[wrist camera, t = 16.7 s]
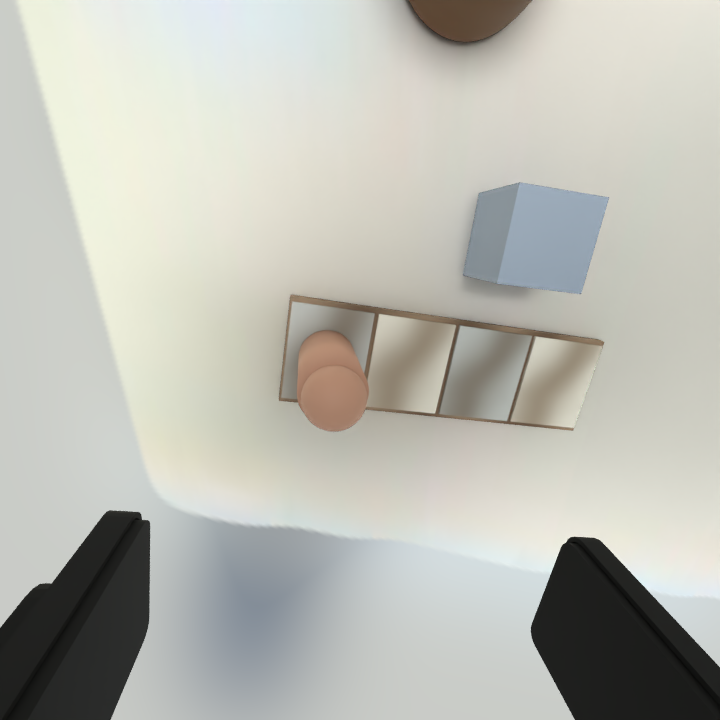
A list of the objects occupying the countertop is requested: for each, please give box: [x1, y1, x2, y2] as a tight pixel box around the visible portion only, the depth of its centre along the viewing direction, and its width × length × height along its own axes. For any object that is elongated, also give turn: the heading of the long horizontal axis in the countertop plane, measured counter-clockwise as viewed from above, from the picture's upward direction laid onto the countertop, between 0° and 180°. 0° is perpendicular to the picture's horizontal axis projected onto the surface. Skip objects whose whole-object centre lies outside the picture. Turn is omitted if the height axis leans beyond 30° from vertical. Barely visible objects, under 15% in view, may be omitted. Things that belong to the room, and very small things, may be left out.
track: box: [279, 295, 604, 430], centre depth 27 cm, size 22×7×1 cm, turn 81°
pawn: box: [297, 330, 369, 431], centre depth 21 cm, size 4×4×8 cm
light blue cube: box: [463, 183, 609, 294], centre depth 23 cm, size 5×5×5 cm
